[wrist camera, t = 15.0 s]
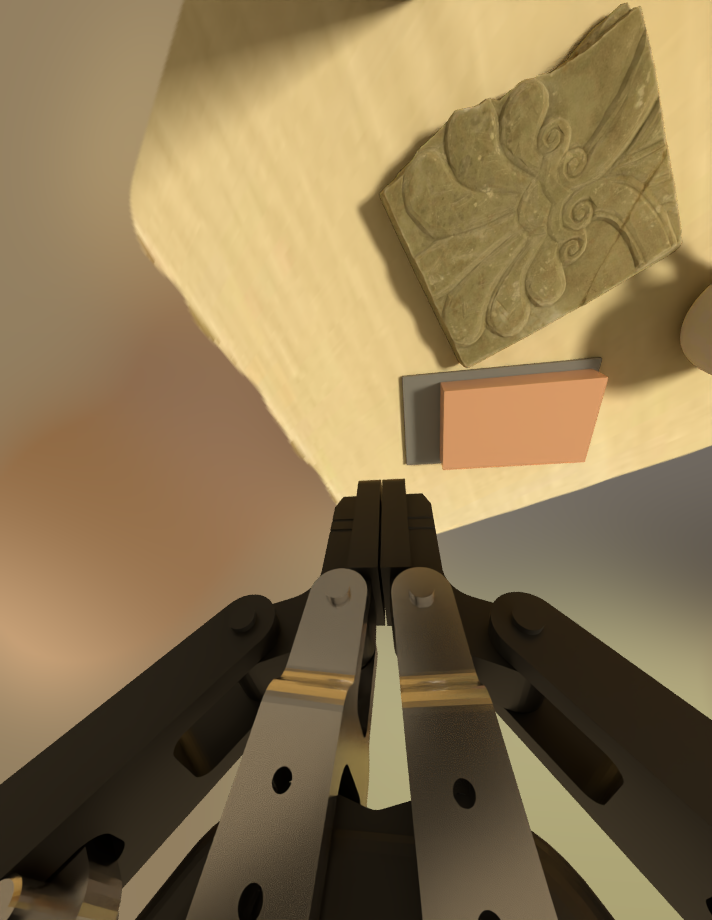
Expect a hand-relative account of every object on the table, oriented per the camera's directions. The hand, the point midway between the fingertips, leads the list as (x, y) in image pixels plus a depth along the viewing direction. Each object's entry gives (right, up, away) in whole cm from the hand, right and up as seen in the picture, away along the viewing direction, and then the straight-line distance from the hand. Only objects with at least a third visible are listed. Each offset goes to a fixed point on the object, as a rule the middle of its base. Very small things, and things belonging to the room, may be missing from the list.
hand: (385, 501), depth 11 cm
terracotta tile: (+9, +5, +28) cm, 30 cm away
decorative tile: (+14, +23, +19) cm, 33 cm away
